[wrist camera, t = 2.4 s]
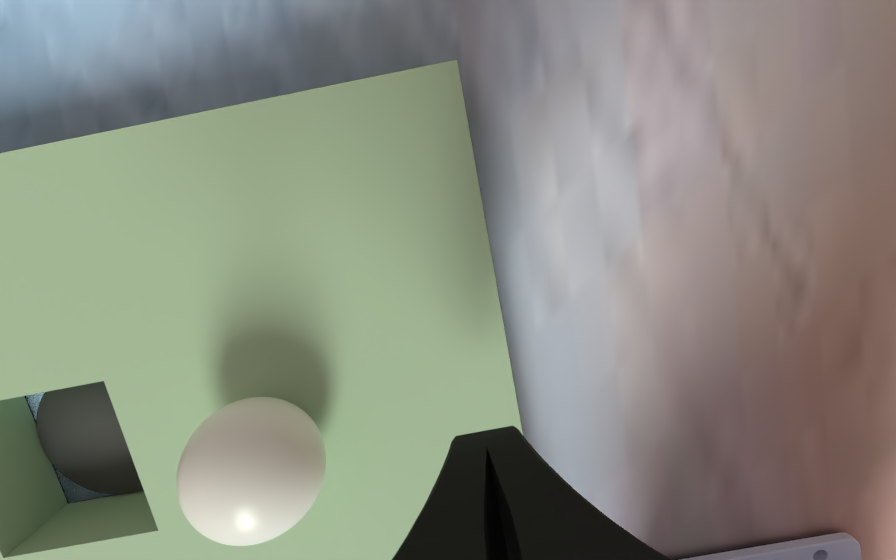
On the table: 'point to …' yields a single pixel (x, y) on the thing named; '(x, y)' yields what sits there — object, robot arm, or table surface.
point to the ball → (251, 471)
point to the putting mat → (246, 314)
